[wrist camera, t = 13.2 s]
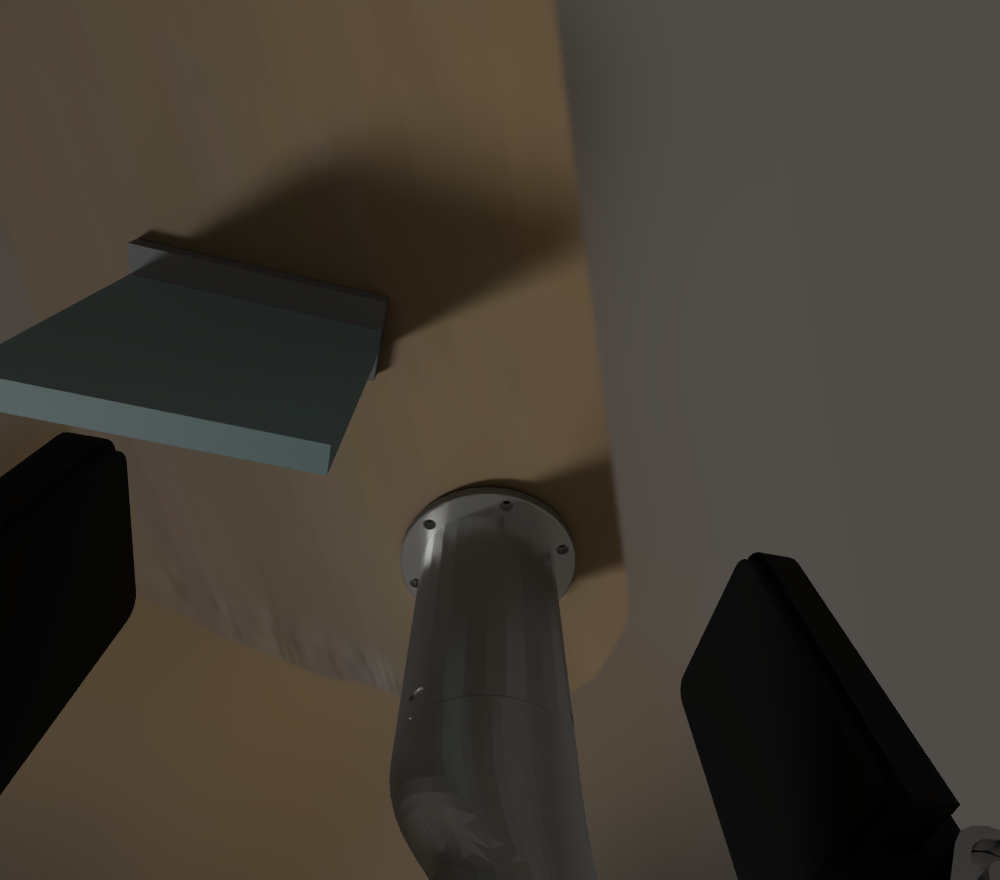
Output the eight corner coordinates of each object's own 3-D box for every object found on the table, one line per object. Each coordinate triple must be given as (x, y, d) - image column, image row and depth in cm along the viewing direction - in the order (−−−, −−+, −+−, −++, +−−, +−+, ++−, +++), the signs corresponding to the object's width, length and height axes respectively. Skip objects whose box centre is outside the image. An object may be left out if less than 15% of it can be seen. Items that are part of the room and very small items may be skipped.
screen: (376, 374, 39) (322, 508, 27) (140, 323, 37) (-32, 442, 25) (389, 297, 36) (335, 407, 24) (137, 238, 35) (-56, 325, 23)
